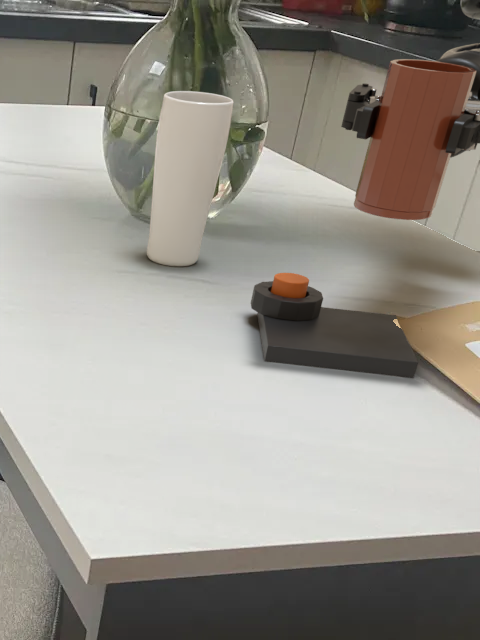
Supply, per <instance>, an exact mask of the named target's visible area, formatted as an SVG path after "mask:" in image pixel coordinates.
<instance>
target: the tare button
mask: <svg viewBox="0 0 480 640" xmlns="http://www.w3.org/2000/svg"><path fill="white" fill-rule="evenodd" d="M272 281H273V284H272V289H271V293H273V294H275V295H279V296H283V297H287V298H305V296H306V292H307V288H308V286H309V285H310V284H309V283H310V279H309V278H308V277H307V276H305V275H302V274H298V273H294V272H293V273H292V272H278V273H275V274H274V276H273V280H272Z"/></svg>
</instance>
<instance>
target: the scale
mask: <svg viewBox="0 0 480 640" xmlns="http://www.w3.org/2000/svg"><path fill="white" fill-rule="evenodd" d="M272 284H273V280H271V281H261V282H258V283H256V284H255V285H254V286H253V291H252V295H251V299H250V308H251V310H253V311H254V312H257V314H256V315H257V322H258V329H259V334H260V335H259V336H260V341H261V348H262V354H263V360H264V362H267V363H278V364H285V365H286V364H287V365H295V366H302V367H312V368H320V369H330V370H337V371H338V370H339V371H348V372H355V373H366V374H374V375H381V376H391V377H392V376H393V377H400V378H401V377H402V378H408V379H414V378H415V375H416V372H417V369H418V365H419V361H418V358H417V356H416V355H415V352H414V351H413V348H412V346H411V344H410V342H409V340H408V338H407V335H406V333H405V331H404V330H402V329H403V328H402V329H401V328H399V327H398V326H396V324H395V323H394V322H393V320H394V319H398V317H397V315H396V314H388V313H381V312H380V313H379V312H372V311H371V312H370V311H360V310H352V309H343V308H334V307H323V306H322V305H323V301H324V296H323V293H322V292H321V291H319V290H318V289H316V288H314V287H313V286H309V285H308V288H307V292H306V296H305V298H287V297H283V296H279V295H275V294H273V293H271V289H272Z"/></svg>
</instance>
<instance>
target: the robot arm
mask: <svg viewBox="0 0 480 640" xmlns="http://www.w3.org/2000/svg"><path fill="white" fill-rule="evenodd" d="M459 4H460V9H461V11H462V13H463V15H465V16H467V17H468V18H471V19H474V20H480V0H460V3H459ZM436 61H438V62H445V63H452V64H457V65H463V66H466V67H470V68H473V69H475V70H476V75H475V78H474V81H473V84H472V88H471V91H470V94H469V98H468V101H467V104H466V107H465V111H464V114H463V116H461V117H459V118H458V119H456V120H455V122H454V125H453V128H452V131H451V134H450V137H449V141H448V144H447V147H446V153H450V154H451V156H450V159H452V158H454V157H456V156H459V155H461V154H463V153H465V152H471V151H475V150H477V146H478V144H480V42H479V43H478V42H477V43H471V44H465V45H461V46H457V47H453V48H451V49H448V50H447V51H446V52H444V53H443V54H442V55H441V56H440V58H439V59H437V60H436ZM380 99H381V95H378V94H377V89H376V88H373V86H372V85H370V84H369V83H365V82H364V83H362V84H357V85H356V86H354V88H353V89H352V90H351V91H350V92H349V94H348V98H347V102H346V106H345V109H344V114H343V118H342V122H341V125H340V127H341V128H342V129H345V130H346V131H352V132H356V139H360V140H361V139H362V140H368V139H370V137H371V133H372V130H373V126H374V122H375V118H376V114H377V111H378V107H379V103H380Z"/></svg>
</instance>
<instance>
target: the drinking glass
mask: <svg viewBox="0 0 480 640" xmlns="http://www.w3.org/2000/svg"><path fill="white" fill-rule="evenodd" d="M234 103H235V102H234V99H233V98H231V97H228V96H226V95H222V94H217V93H211V92H204V91H194V90H193V91H192V90H175V91H168V92H165V93H164V94H163V98H162V103H161V108H160V114H159V119H158V126H157V131H156V140H155V141H156V142H155V149H154V150H155V152H154V163H153V178H152V180H153V181H152V192H151V193H152V194H151V207H150V219H149V220H150V221H149V231H148V240H147V245H146V246H147V247H146V255H147V256H146V257H148V259H149V260H150V261H152V262H153V263H156V264H158V265H163V266H169V267H189V266H192V265H194V264H195V263H197V261H198V260H199V257H200V252H201V247H202V242H203V237H204V234H205V230H206V225H207V222H208V218H209V214H210V212H211V211H210V210H211V207H212V203H213V199H214V195H215V191H216V187H217V184H218V180H219V176H220V173H221V169H222V165H223V162H224V158H225V154H226V149H227V145H228V141H229V140H228V139H229V135H230V130H231V123H232V117H233V112H234V111H233V110H234Z"/></svg>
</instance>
